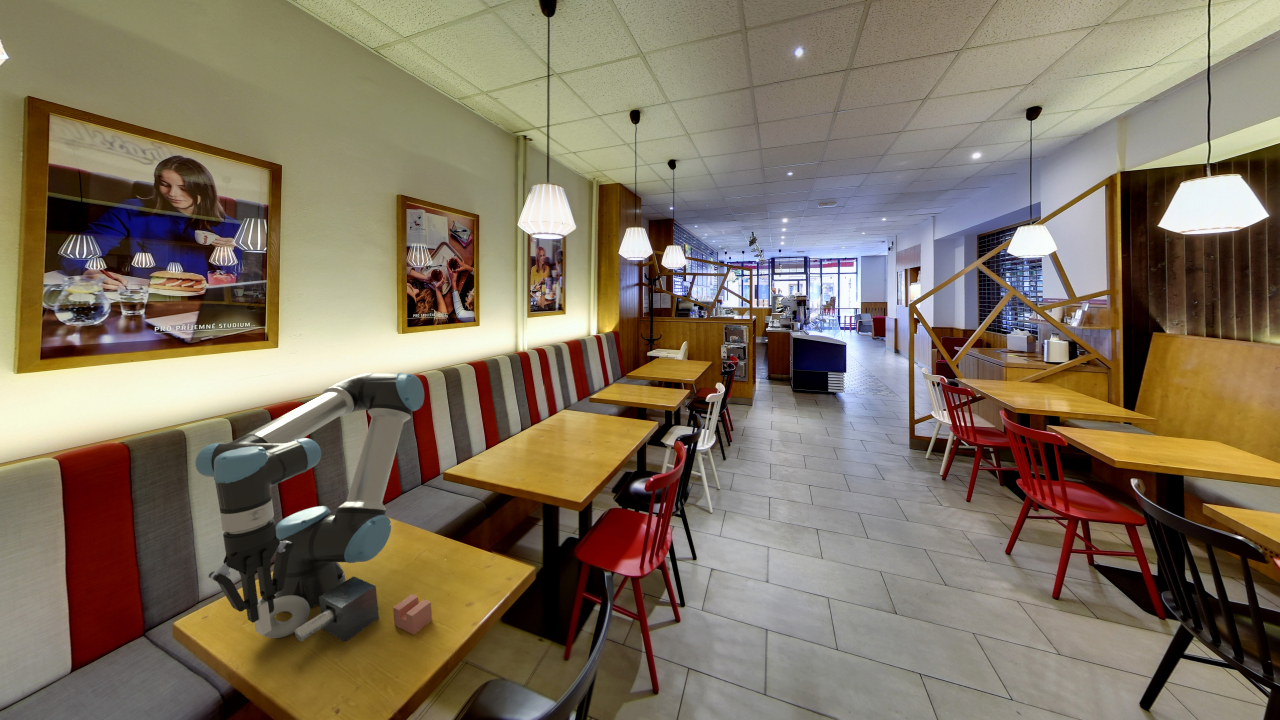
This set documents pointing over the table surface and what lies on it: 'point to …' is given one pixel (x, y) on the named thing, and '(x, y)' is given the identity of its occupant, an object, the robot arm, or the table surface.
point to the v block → (412, 614)
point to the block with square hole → (350, 607)
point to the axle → (315, 624)
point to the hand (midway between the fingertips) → (263, 630)
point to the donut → (285, 628)
